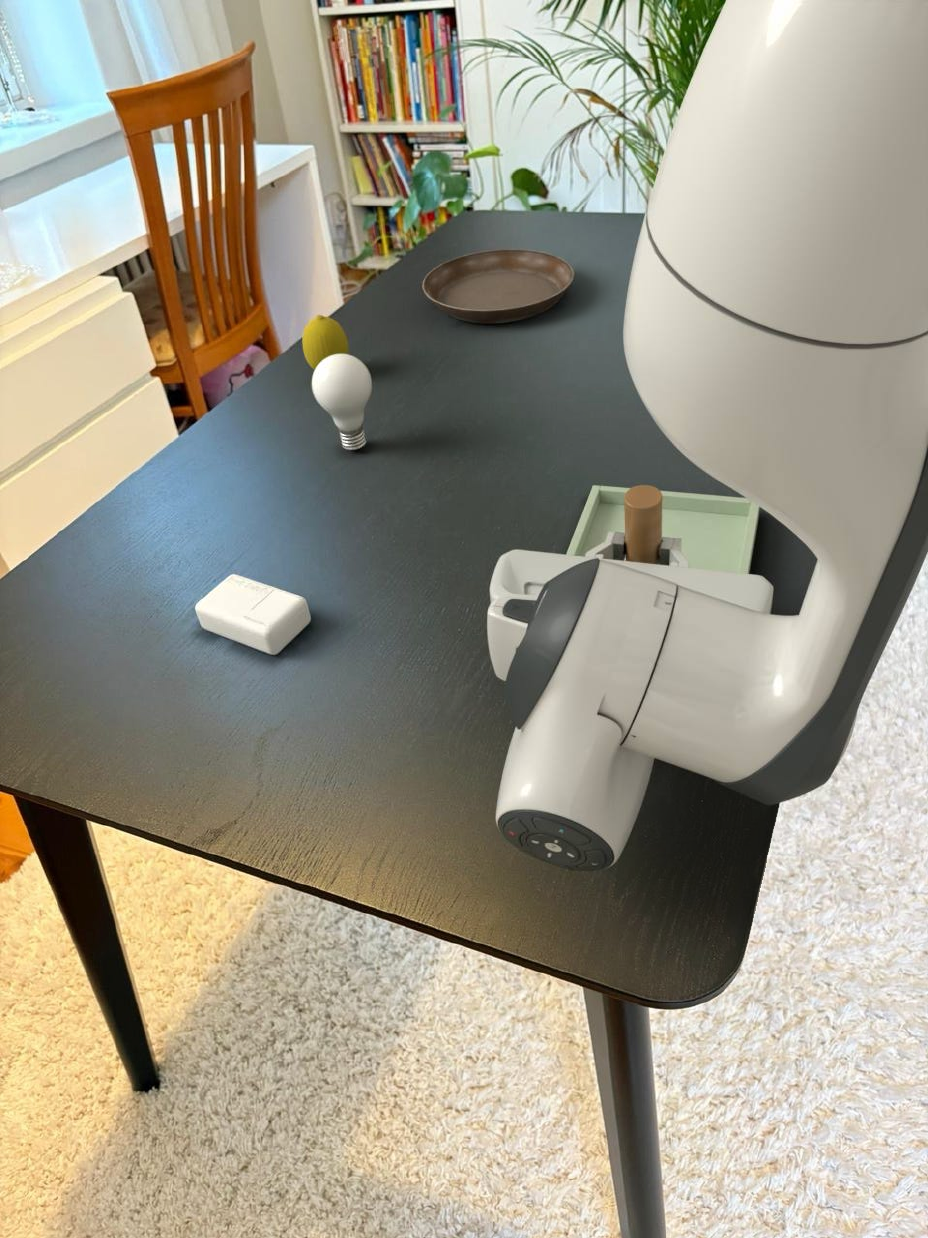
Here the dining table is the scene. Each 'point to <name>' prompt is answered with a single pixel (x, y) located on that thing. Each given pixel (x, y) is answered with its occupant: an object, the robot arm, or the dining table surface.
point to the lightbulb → (344, 395)
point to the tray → (679, 526)
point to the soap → (253, 613)
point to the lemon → (323, 340)
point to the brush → (643, 524)
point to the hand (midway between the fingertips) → (644, 541)
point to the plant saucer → (498, 285)
